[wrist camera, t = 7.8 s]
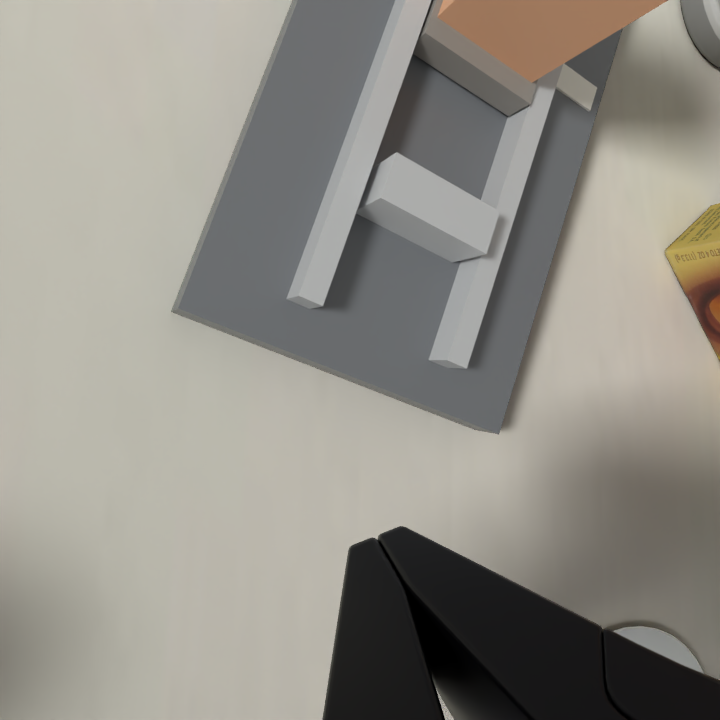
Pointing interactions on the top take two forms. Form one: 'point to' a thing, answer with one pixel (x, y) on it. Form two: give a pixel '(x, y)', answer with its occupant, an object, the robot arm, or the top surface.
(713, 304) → the candy box
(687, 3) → the travel mug
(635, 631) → the patterned sun hat
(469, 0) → the fader tab
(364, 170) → the board
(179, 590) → the top surface
